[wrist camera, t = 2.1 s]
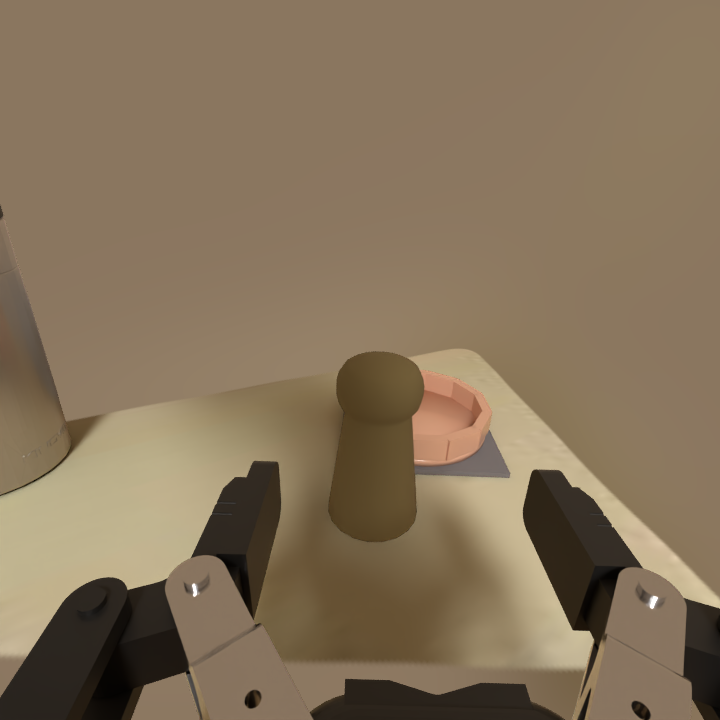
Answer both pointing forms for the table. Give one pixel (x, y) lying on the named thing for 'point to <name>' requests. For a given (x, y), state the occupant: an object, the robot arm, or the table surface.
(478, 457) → the mat
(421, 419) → the bowl
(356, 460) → the pepper mill
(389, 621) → the table surface
